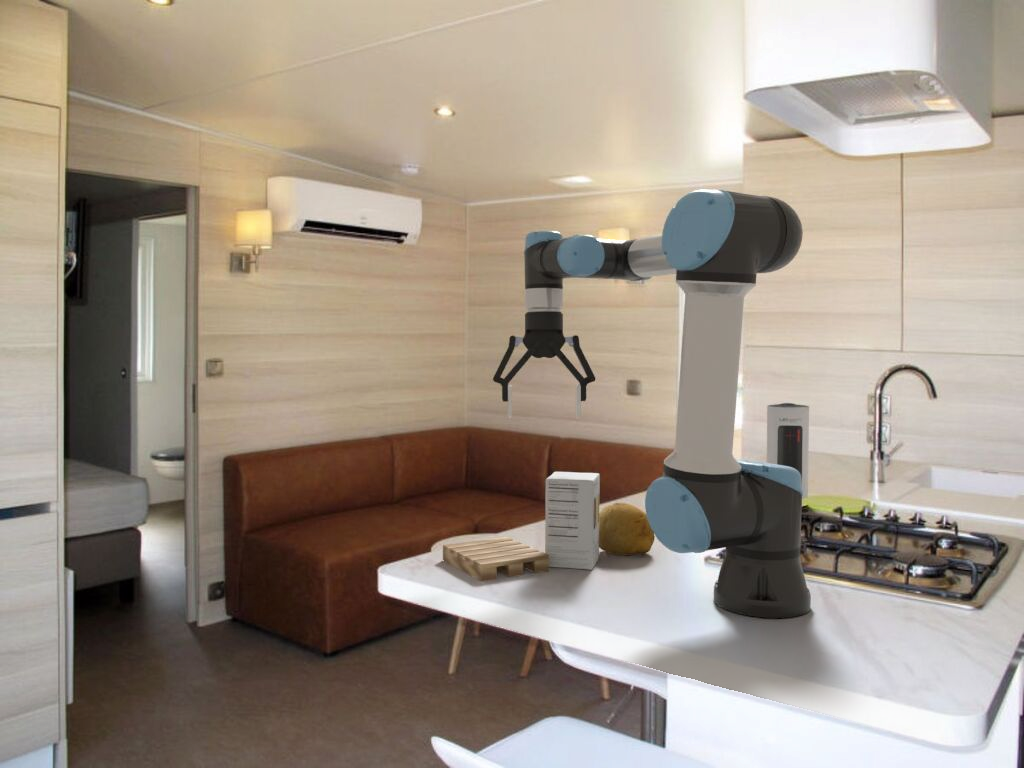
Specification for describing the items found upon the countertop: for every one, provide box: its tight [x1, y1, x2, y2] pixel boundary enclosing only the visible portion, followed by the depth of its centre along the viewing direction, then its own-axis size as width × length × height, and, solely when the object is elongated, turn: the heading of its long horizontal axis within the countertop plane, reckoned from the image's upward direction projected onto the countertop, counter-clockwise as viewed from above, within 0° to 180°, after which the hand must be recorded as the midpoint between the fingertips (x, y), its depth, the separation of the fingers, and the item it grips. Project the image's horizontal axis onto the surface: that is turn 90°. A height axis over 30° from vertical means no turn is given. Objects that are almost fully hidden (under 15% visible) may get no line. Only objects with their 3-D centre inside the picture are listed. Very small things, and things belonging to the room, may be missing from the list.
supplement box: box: [544, 471, 601, 571], centre depth 163 cm, size 10×9×17 cm
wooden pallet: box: [442, 536, 550, 582], centre depth 161 cm, size 16×14×3 cm
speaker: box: [766, 402, 810, 499], centre depth 220 cm, size 11×10×26 cm
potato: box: [599, 502, 656, 556], centre depth 171 cm, size 10×12×10 cm
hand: (544, 418), depth 170 cm, fingers open, 13 cm apart
